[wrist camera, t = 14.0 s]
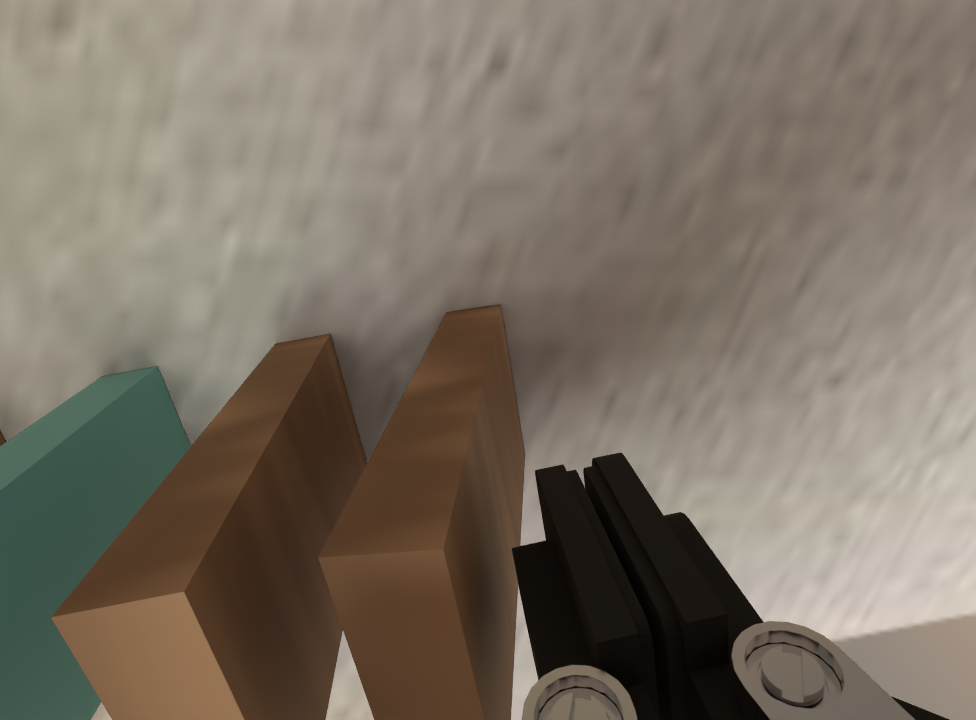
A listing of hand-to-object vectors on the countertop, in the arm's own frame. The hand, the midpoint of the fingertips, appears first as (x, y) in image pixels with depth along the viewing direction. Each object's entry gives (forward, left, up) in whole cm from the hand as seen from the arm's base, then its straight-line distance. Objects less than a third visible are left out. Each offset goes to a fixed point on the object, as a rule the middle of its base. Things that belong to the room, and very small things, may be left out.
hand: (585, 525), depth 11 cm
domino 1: (+1, 0, -7) cm, 7 cm away
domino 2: (+6, 0, -7) cm, 9 cm away
